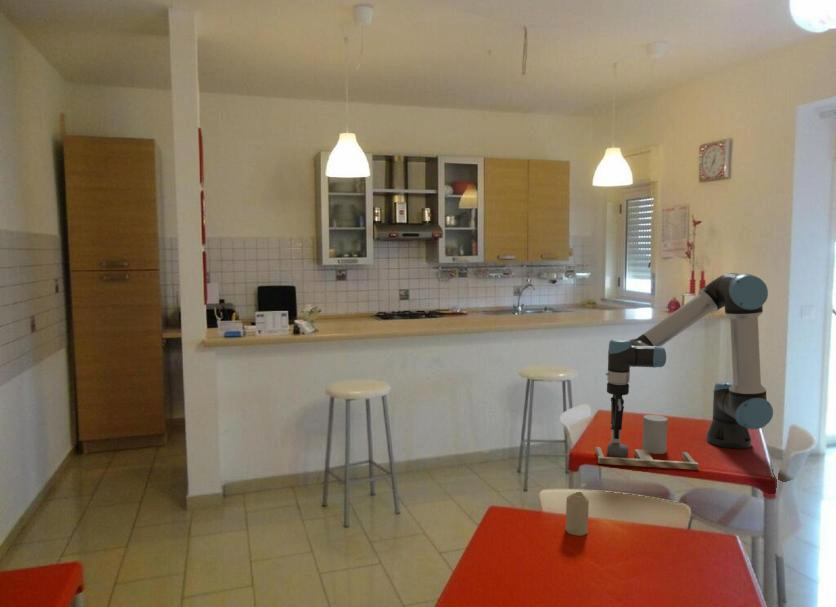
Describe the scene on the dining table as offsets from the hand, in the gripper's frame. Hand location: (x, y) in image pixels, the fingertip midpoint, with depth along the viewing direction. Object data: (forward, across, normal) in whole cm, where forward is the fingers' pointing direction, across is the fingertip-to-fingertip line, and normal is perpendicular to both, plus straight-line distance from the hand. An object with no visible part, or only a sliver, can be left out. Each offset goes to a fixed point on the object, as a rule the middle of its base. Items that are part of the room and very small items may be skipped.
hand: (615, 446), depth 217 cm
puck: (+2, +4, 0) cm, 4 cm away
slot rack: (+2, +9, +8) cm, 13 cm away
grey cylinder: (+2, -3, +14) cm, 15 cm away
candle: (+2, +66, -20) cm, 69 cm away
